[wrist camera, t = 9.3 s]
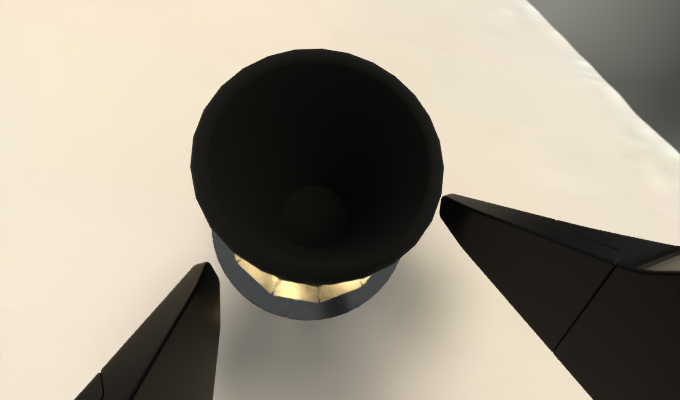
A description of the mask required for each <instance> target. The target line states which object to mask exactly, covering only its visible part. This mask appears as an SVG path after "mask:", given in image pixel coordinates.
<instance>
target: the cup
mask: <svg viewBox="0 0 680 400" xmlns="http://www.w3.org/2000/svg"><path fill="white" fill-rule="evenodd" d="M190 168H191V174H192V179H193V185H194V190H195V196H196V199H197V201H198V203H199V205H200V207H201V209H202V211H203V213H204V215H205V217H206V219H207V221H208V223H209V226H210V228H211V229H212V230H213V231H214V232H215V233H216V234H217V235H218V236H219V238H220V239H221V240H222V241H223V242H224V243H225V244H226V245H227V247H228V248H229V249H230V250H231V251H232V252H233V253H234V254H236V255H237V256H239V257H240V258H242V259H243V260H245V261H246V262H248V263H250V264H251V265H253V266H254V267H256V268H257V269H259V270H260V271H262V272H264V273H267V274H270V275H273V276H276V277H280V278H283V279H286V280H289V281H292V282H295V283H306V284H322V285H333V284H339V283H344V282H349V281H354V280H359V279H364V278H366V277H368V276H370V275H372V274H374V273H376V272H378V271H380V270H382V269H385V268H387V267H389V266H391V265H393V264H394V263H395V262H396V261H397V260H399V259H400V258H401V257H402V256H403V255H404V254H406V253H407V252H408V251H409V250H410V249H411V248H412V247H414V246H415V245H416V244H417V242H418V241H419V239H420V238H421V236H422V235H423V233H424V232H425V230H426V229H427V227H428V226H429V225H430V223H431V222H432V220H433V217H434V214H435V211H436V208H437V206H438V203H439V200H440V197H441V194H442V183H443V171H444V165H443V159H442V152H441V146H440V141H439V138H438V136H437V133H436V131H435V128H434V126H433V123H432V121H431V118H430V116H429V115H428V113H427V112H426V110H425V109H424V108H423V106H422V105H421V103H420V102H419V100H418V99H417V97H416V96H415V95H414V94H413V93H412V92H411V91H410V90H409V89H408V88H407V87H406V86H405V85H404V84H403V83H402V82H401V81H400V80H398V79H397V78H396V77H395V76H394V75H392V74H391V73H389V72H387V71H386V70H384V69H383V68H381V67H379V66H378V65H376V64H375V63H373V62H370V61H368V60H365V59H362V58H360V57H357V56H354V55H352V54H349V53H344V52H338V51H332V50H326V49H299V50H292V51H287V52H283V53H279V54H275V55H271V56H268V57H266V58H264V59H261V60H259V61H257V62H255V63H253V64H251V65H249V66H247V67H245V68H243V69H242V70H241V71H239V72H238V73H237V74H236V75H234V76H233V77H232V78H231V79H230V80H228V81H227V82H226V83H225V84H224V85H222V86H221V87H220V89H219V90H218V91H217V93H216V94H215V95H214V97H213V98H212V99H211V101H210V102H209V104H208V105H207V106H206V108H205V109H204V111H203V113H202V116H201V119H200V121H199V124H198V126H197V129H196V131H195V134H194V136H193V145H192V155H191V165H190Z"/></svg>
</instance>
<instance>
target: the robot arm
mask: <svg viewBox="0 0 680 400" xmlns="http://www.w3.org/2000/svg"><path fill="white" fill-rule="evenodd" d="M439 213H440V217H441V219H442V220H443V222H444V223H445V225H446V226H447V227H448V229H449V230H450V232H451V233H452V235H453V236H454V237H455V239H456V240H457V242H458V243H459V244H460V246H461V247H462V248H463V250H464V251H465V252H466V253H467V254H468V255H469V257H470V258H471V259H472V260H473V261H474V262H475V263H476V265H477V266H478V267H479V268H480V269H481V270H482V272H483V273H484V274H485V275H486V276H487V277H488V279H489V280H490V281H491V282H492V283H493V284H494V285H495V287H496V288H497V289H498V290H499V291H500V292H501V294H502V295H503V296H504V297H505V298H506V299H507V300H508V302H509V303H510V304H511V305H512V306H513V307H514V309H515V310H516V311H517V312H518V313H519V314H520V315H521V317H522V318H523V319H524V320H525V321H526V322H527V324H528V325H529V326H530V327H531V328H532V329H533V331H534V332H535V333H536V334H537V335H538V336H539V337H540V339H541V340H542V341H543V342H544V343H545V344H546V346H547V347H548V348H549V349H550V350H551V351H552V352H553V354H554V355H555V356H556V357H557V358H558V360H559V361H560V362H561V363H562V364H563V365H564V367H565V368H566V369H567V370H568V371H569V372H570V373H571V375H572V376H573V377H574V378H575V379H576V380H577V382H578V383H579V384H580V385H581V386H582V387H583V389H584V390H585V391H586V392H587V393H588V394H589V395H590V397H591V398H592V399H593V400H680V246H674V245H669V244H664V243H659V242H654V241H649V240H644V239H640V238H635V237H630V236H625V235H620V234H616V233H611V232H606V231H602V230H597V229H593V228H588V227H584V226H580V225H576V224H572V223H568V222H564V221H560V220H557V221H556V220H555V219H552V218H548V217H544V216H540V215H536V214H532V213H528V212H524V211H520V210H516V209H512V208H508V207H504V206H500V205H496V204H492V203H488V202H484V201H480V200H476V199H472V198H468V197H464V196H460V195H456V194H448V195H444V196H443V197H442V198H441V204H440V212H439ZM219 335H220V282H219V278H218V276H217V274H216V273H215V271H214V269H213V267H212V266H211V264H210V263H209V262H204V263H200V264H197V265H195V266H193V268H192V269H191V270H190V271H189V272H188V273H187V274H186V275H185V276H184V278H183V279H182V280H181V281H180V282H179V283H178V284H177V285H176V287H175V288H174V289H173V290H172V291H171V292H170V293H169V294H168V296H167V297H166V298H165V299H164V300H163V301H162V302H161V303H160V304H159V306H158V307H157V308H156V309H155V310H154V311H153V312H152V313H151V315H150V316H149V317H148V318H147V319H146V320H145V321H144V322H143V324H142V325H141V326H140V327H139V328H138V329H137V330H136V331H135V332H134V334H133V335H132V336H131V337H130V338H129V339H128V340H127V341H126V343H125V344H124V345H123V346H122V347H121V348H120V349H119V350H118V352H117V353H116V354H115V355H114V356H113V357H112V358H111V359H110V360H109V362H108V363H107V364H106V365H105V366H104V367H103V368H102V370H101V373H98V374H97V375H96V376H95V377H94V378H93V379H92V381H91V382H90V383H89V384H88V385H87V386H86V387H85V388H84V389H83V391H82V392H81V393H80V394H79V395H78V396H77V397H76V398H75V399H74V400H213V391H214V382H215V373H216V363H217V354H218V344H219Z"/></svg>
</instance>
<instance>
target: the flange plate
mask: <svg viewBox="0 0 680 400" xmlns="http://www.w3.org/2000/svg"><path fill="white" fill-rule="evenodd" d="M212 237H213V243H214V248H215V251H216V255H217V258H218V261H219V263H220V265H221V267H222V269H223V271H224V273H225V274H226V276H227V277H228V279H229V280H230V282H231V283H232V284H233V285H234V287H235V288H236V289H237V290H238V291H239V292H240V293H241V294H242V295H243V296H244V297H246V298H247V299H248V300H249V301H251V302H252V303H253V304H255V305H257V306H258V307H260V308H262V309H264V310H265V311H268V312H270V313H273V314H275V315H278V316H282V317H286V318H290V319H297V320H321V319H326V318H331V317H335V316H338V315H341V314H344V313H347V312H349V311H351V310H353V309H355V308H357V307H359V306H360V305H362V304H363V303H365V302H366V301H368V300H369V299H370V298H371V297H372V296H374V295H375V294H376V293H377V292H378V291H379V290H380V289H381V288H382V286H383V285H384V284H385V283H386V282H387V281H388V279H389V277H390V276H391V274H392V273H393V271H394V270H395V268H396V265H397V263H398V261H399V260H397V261H396V262H395V263H394V264H393V265H391V266H389V267H387V268H385V269H382V270H380V271H378V272H376V273H374V274H372V275H370V276H368V277H366V278H364V279H359V280H354V281H349V282H344V283H339V284H333V285H322V284H306V283H295V282H292V281H289V280H286V279H283V278H280V277H276V276H273V275H270V274H267V273H264V272H262V271H260V270H259V269H257V268H256V267H254V266H253V265H251V264H250V263H248V262H246V261H245V260H243V259H242V258H240V257H239V256H237V255H236V254H234V253H233V252H232V251H231V250H230V249H229V248H228V247H227V245H226V244H225V243H224V242H223V241H222V240H221V239H220V238H219V236H218V235H217V234H216V233H215V232H214V231H213V230H212Z"/></svg>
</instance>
